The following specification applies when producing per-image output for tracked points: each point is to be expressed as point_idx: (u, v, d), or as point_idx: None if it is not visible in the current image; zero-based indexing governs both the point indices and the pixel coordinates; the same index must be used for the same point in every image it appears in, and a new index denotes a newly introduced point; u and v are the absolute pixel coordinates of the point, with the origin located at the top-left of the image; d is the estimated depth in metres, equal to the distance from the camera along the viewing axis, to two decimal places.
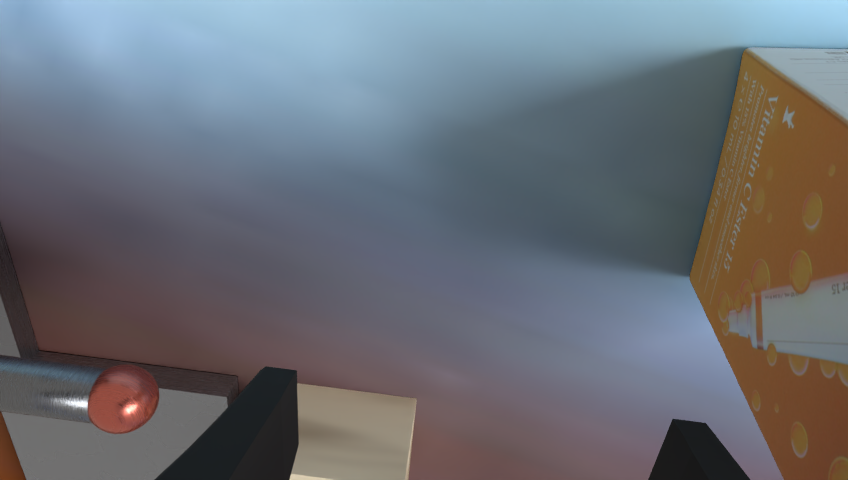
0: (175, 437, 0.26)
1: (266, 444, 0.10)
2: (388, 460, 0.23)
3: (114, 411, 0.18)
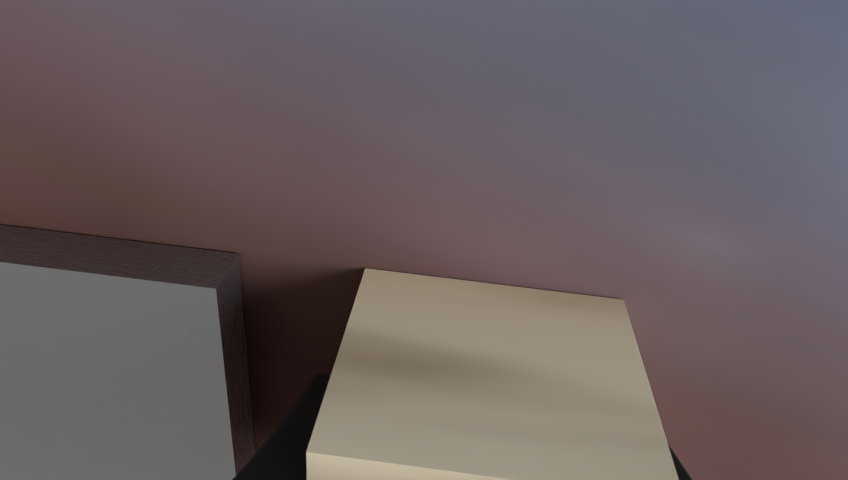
0: (111, 384, 0.13)
1: None
2: (618, 428, 0.09)
3: None
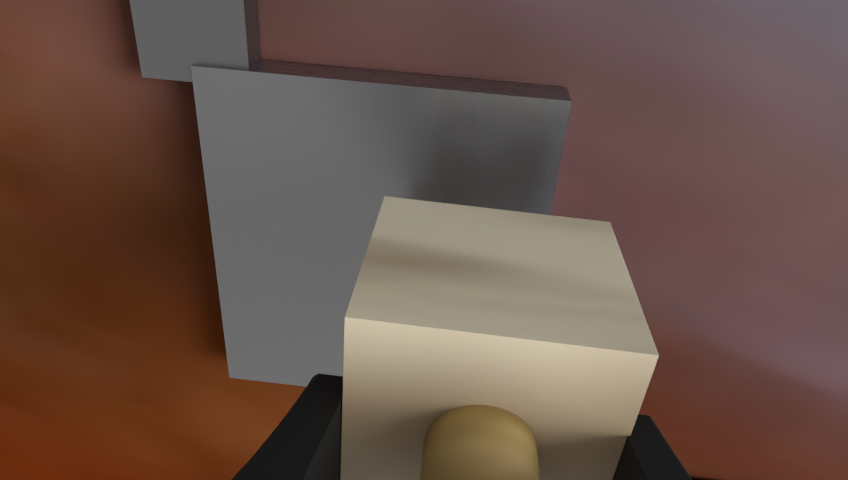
0: (467, 188, 0.18)
1: (326, 452, 0.10)
2: (603, 308, 0.11)
3: None
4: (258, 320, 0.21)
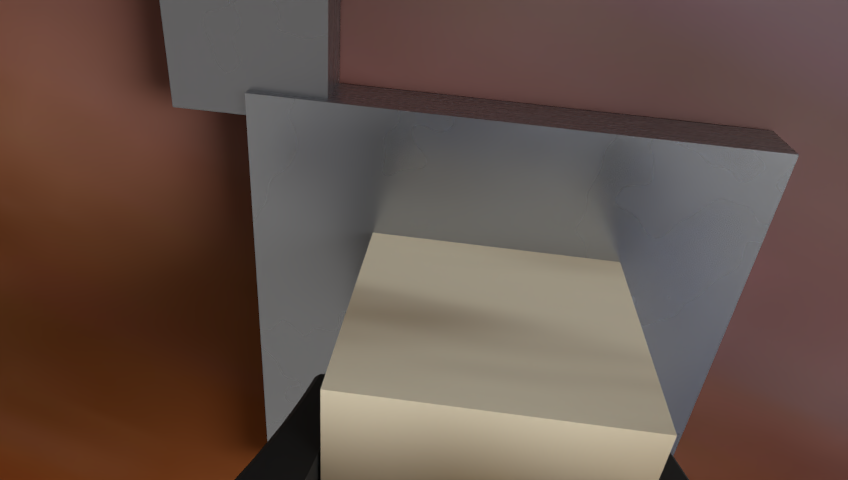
0: (624, 267, 0.13)
1: None
2: (613, 372, 0.10)
3: None
4: None
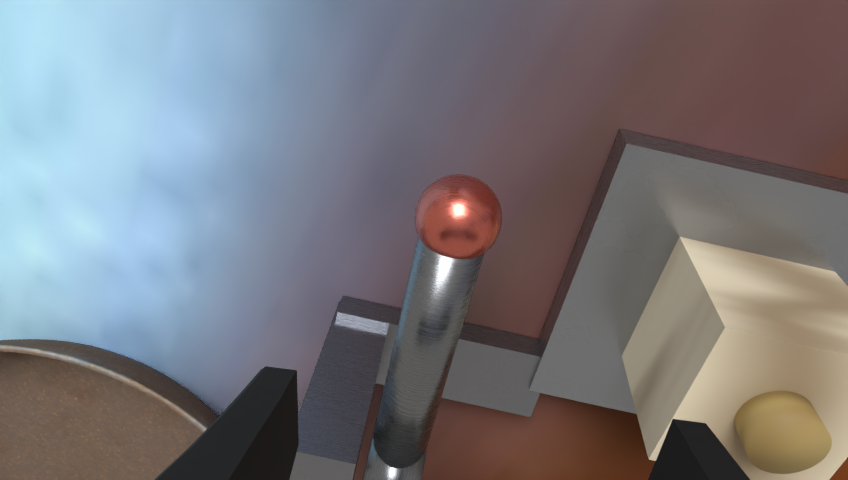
0: (684, 234, 0.19)
1: (266, 444, 0.10)
2: (700, 320, 0.17)
3: (441, 222, 0.14)
4: None
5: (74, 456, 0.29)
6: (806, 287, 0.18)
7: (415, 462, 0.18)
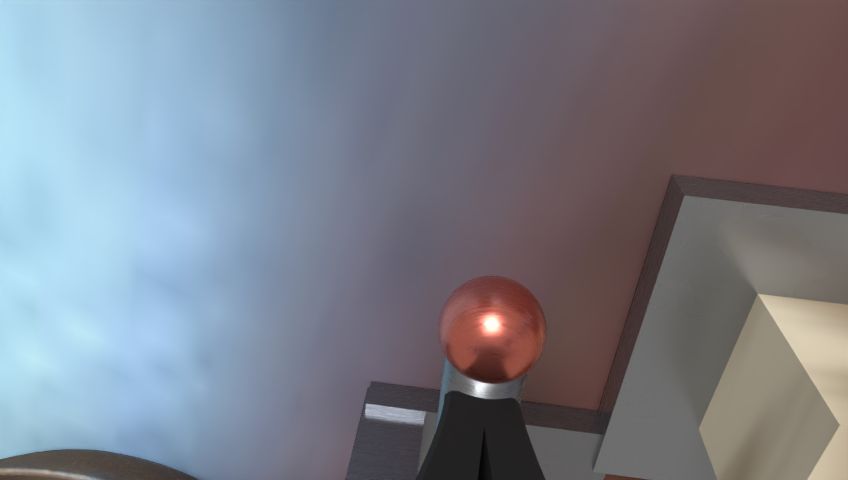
0: (764, 291, 0.16)
1: None
2: (802, 407, 0.14)
3: (472, 345, 0.11)
4: None
5: None
6: None
7: None
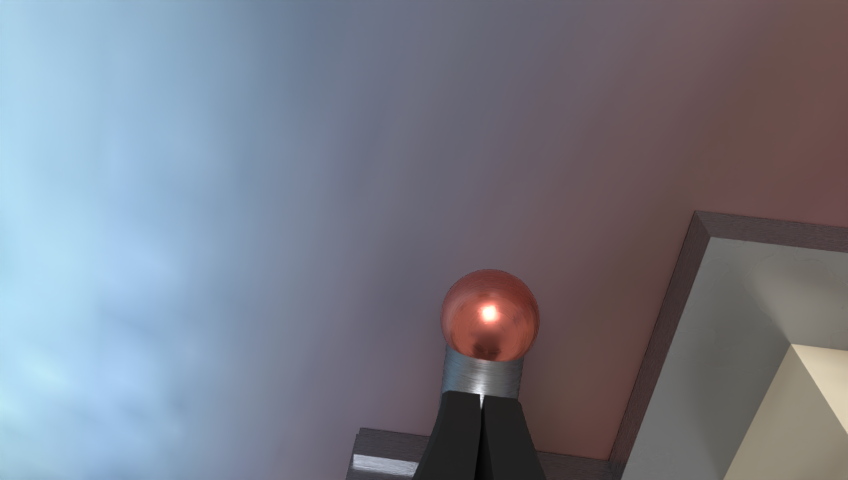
0: (798, 340, 0.14)
1: None
2: None
3: (473, 317, 0.12)
4: None
5: None
6: None
7: None
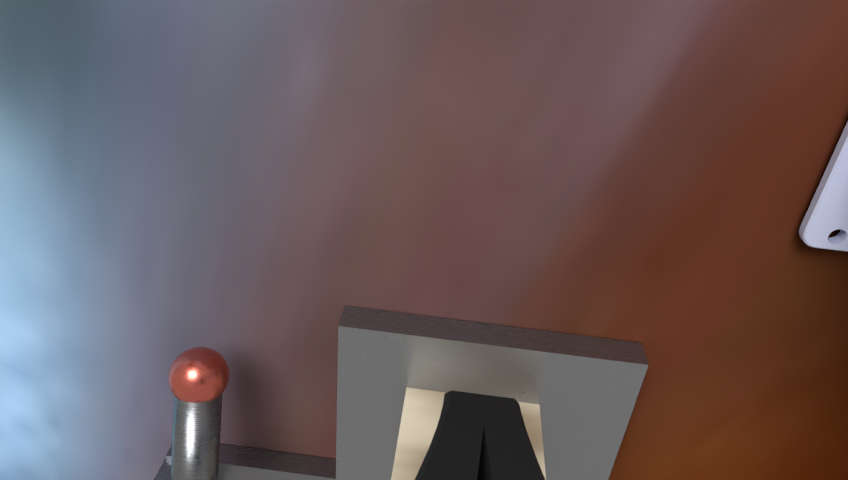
0: (409, 385, 0.23)
1: None
2: None
3: (178, 377, 0.21)
4: None
5: None
6: None
7: None
